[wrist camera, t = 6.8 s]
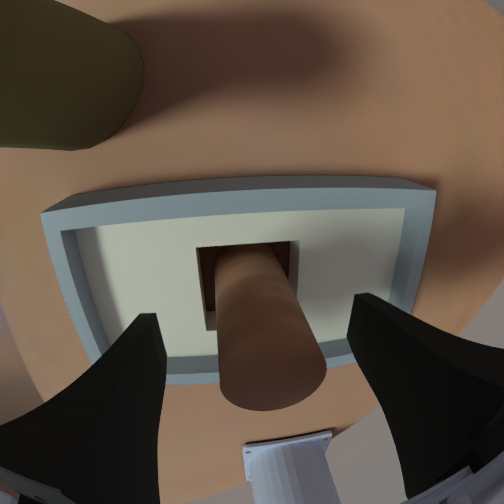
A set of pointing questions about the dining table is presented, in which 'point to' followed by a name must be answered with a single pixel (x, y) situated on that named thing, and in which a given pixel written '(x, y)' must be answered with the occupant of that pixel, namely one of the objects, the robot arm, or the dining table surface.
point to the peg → (262, 332)
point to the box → (232, 233)
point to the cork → (63, 76)
